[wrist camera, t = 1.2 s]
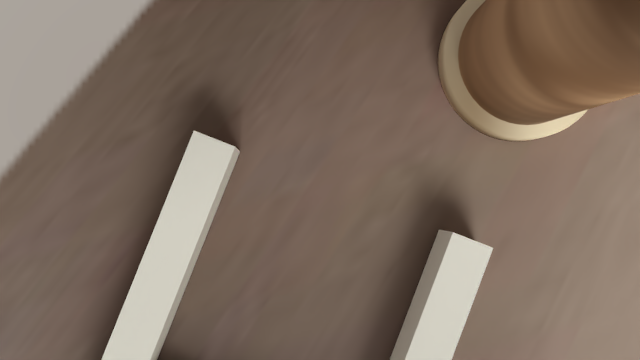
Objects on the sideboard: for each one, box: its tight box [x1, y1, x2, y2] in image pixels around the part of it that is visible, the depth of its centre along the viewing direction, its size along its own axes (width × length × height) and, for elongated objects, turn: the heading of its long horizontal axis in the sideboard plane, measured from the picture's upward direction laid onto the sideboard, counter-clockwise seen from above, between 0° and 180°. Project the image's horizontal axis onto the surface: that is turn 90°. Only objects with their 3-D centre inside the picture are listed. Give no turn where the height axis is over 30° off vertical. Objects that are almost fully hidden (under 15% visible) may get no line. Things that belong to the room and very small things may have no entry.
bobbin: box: [438, 0, 640, 141], centre depth 17 cm, size 6×6×13 cm
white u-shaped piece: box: [102, 131, 493, 360], centre depth 22 cm, size 11×11×2 cm
